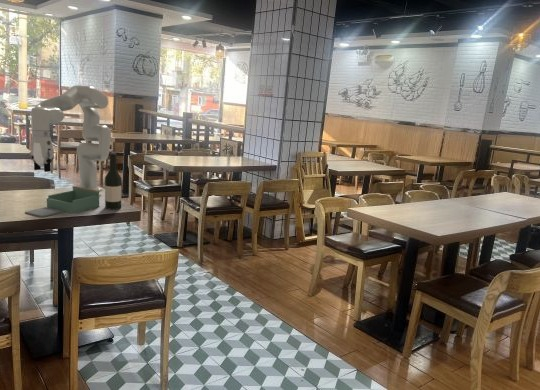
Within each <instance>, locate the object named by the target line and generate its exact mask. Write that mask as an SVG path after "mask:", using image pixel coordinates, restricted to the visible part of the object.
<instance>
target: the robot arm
mask: <svg viewBox="0 0 540 390" xmlns="http://www.w3.org/2000/svg"><path fill="white" fill-rule="evenodd" d="M78 105H79V106H80V108H81V111H82V112H83V113H82V114H83V122H82V128H81V129H82V131H81V136H82V138H83V139H84V140H85V141H89V142H82V143H79V144H78V145H77V147H76V156H77V160H78V175H79V176H78V178H79V183H78V184H79V186H78V187H82V188H87V189H92V190H98V191H100V192H99V198H100V197H101V194H100V193H101V192H103V191H104V188H102V187H101V188H98V168H97V167H98V166H97V163H96V162H95V161H99V162H100V161H101V162H103V161H104V162H105V161H106V160H107V159H108V157H109V156H110V147H111V138H112V131H111V129H110V128H109V126H107V125H104V124H103V125H101V124H100V117H101V116H100V113H99V112H98V110H97V109H106V108H107V107H108V105H109V98H108V96H107V95H106V93H104V92H103V91H101V90H99V89H97V88H96V87H94V86H91V85H82V84H81V85H80V84H77V85H75V84H74V85H72V86H71V87H69V89H67V90H66V91H64V92H63V93H62V94H60V95H57V96H54V97H51V98H48V99H44V100H42V101H41V102H39V103H38V104H36V105H35V107H32V108H31V111H30V112H31V114H30V115H31V143H30V150H31V151H30V152H29V155H30V156H31V160H32V161H33V169H34V171H39V170H41V168H42V166H39V165H38V164H37V163H36V162H35V159H34V154H33V148H34V142H35V143H40V146H41V151H42V157H43V158H44V161H45V164H44V166H43V171H44V172H45V173H46V172H47V173H49V172H51V171H52V169H51V168H52V165H51V164H52V162H53V160H54V159H55V155H54V147H53V140H52V137H51V132H50V130H51V129H50V124H58V123H61V122H62V121H63V120H64V117H65V113H64V112H66V111H70V110H73V109H74V108H75V107H76V106H78ZM90 141H91V142H90ZM92 142H98V143H92ZM47 154H49V157H47ZM46 158H48V160H47V159H46Z"/></svg>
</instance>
